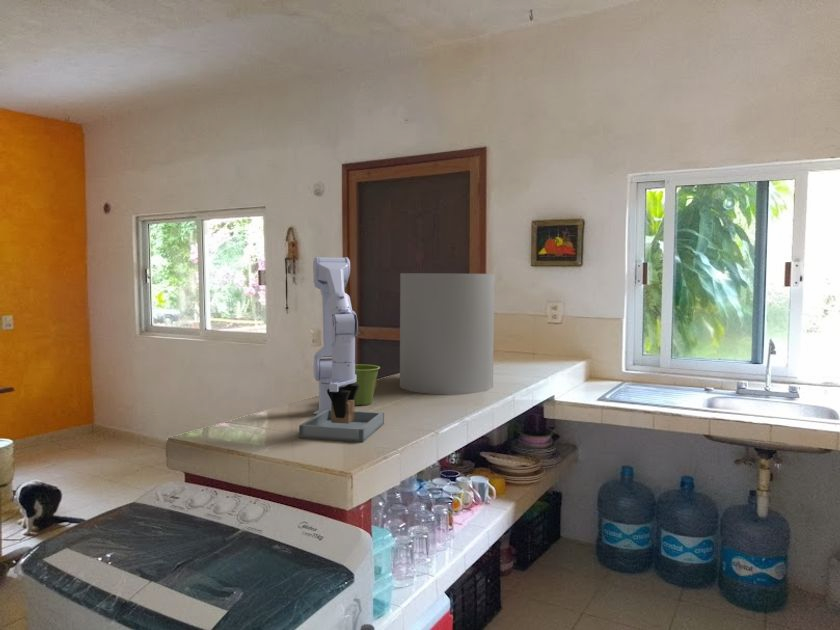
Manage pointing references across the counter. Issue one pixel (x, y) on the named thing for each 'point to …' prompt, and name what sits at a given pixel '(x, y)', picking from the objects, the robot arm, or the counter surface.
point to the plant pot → (365, 383)
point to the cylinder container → (446, 332)
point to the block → (348, 415)
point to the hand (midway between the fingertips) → (343, 415)
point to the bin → (342, 427)
